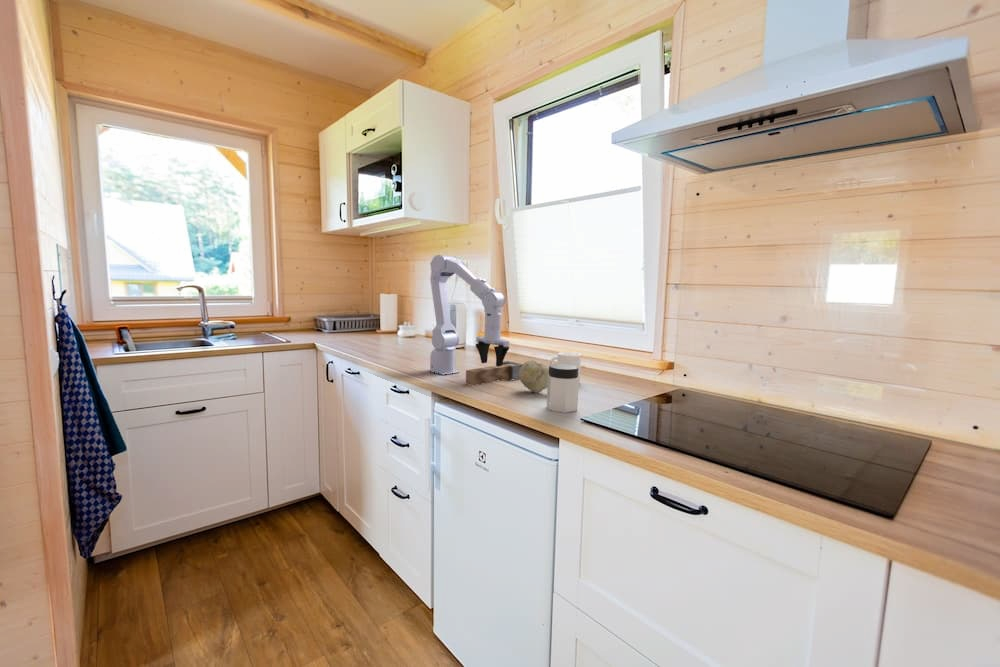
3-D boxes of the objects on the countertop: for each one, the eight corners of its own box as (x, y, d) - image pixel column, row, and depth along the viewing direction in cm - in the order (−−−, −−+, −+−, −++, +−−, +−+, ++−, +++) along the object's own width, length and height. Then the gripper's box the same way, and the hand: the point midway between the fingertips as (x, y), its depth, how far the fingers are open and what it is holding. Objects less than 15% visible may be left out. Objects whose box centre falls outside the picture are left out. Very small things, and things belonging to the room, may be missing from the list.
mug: (543, 380, 160) (544, 352, 159) (555, 377, 167) (556, 350, 166) (572, 385, 153) (573, 356, 152) (583, 382, 159) (585, 353, 158)
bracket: (494, 375, 165) (494, 362, 165) (506, 373, 170) (507, 360, 170) (513, 380, 158) (514, 366, 158) (526, 377, 163) (527, 364, 163)
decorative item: (512, 391, 143) (513, 360, 142) (528, 386, 149) (529, 357, 148) (542, 398, 135) (543, 366, 134) (558, 393, 141) (559, 362, 140)
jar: (564, 403, 130) (565, 363, 128) (583, 410, 123) (585, 367, 122) (540, 407, 125) (541, 365, 124) (559, 414, 118) (561, 370, 117)
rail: (509, 376, 167) (510, 363, 166) (516, 378, 164) (517, 364, 164) (465, 384, 151) (466, 370, 150) (472, 386, 149) (473, 371, 148)
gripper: (470, 325, 157) (469, 362, 159) (499, 329, 147) (498, 369, 149) (484, 324, 162) (483, 360, 164) (513, 328, 152) (512, 366, 154)
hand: (491, 364), depth 157 cm, fingers open, 7 cm apart
